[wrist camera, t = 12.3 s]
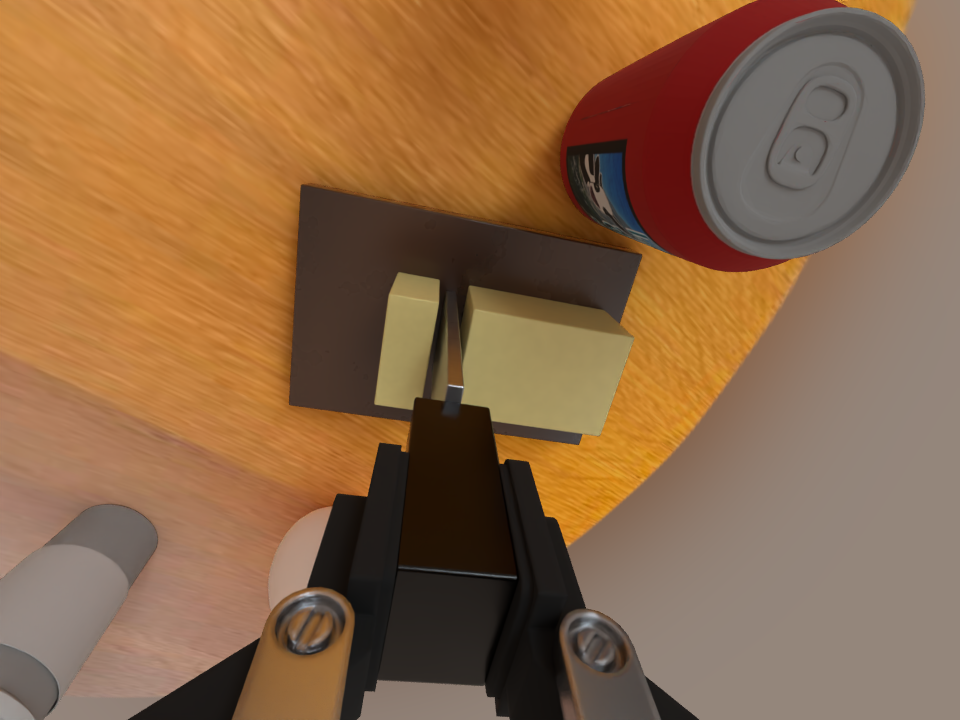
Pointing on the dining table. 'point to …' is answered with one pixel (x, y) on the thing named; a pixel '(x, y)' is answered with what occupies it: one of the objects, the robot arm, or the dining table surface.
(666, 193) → the beverage can
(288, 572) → the egg
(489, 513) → the knife
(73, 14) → the dining table surface
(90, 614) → the cup
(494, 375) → the butter block
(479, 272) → the board
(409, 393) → the butter slice
